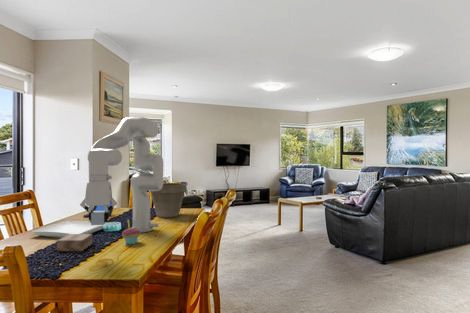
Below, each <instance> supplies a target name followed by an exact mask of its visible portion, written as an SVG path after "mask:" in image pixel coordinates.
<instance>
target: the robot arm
mask: <svg viewBox="0 0 470 313" xmlns="http://www.w3.org/2000/svg"><path fill="white" fill-rule="evenodd" d="M159 130H160V129H159V126H158V124H157V123H156V122H155V121H153V120H152V119H149V118H146V117H142V116H141V117H140V116H139V117H136V116H134V117H125V118H123V119H121V121H120V123H118V126H117V127H116V128H115V129H114V131H113V132H112V133H110V134H108V135H106V136H104V137H102V138H100V139H98V140H97V141H96V142H95V143H94V144H93V145H92V146H91V148H90V149H89V151H88V153H87V161H88V181H87V182H86V187H85V194H84V196H85V197H84V199H83V200H82V201H81V202H80V204H79V205H80V206H81V207H82V208H83V209H84V210H85V212H87V214H89V218H88V220H89V222H91V213H92V212H93V208H94V206H104V209H105V213H104V222H106V223H108V222H107V221H108V220H110V217H109V211H110V210H111V209H112V208H113V207H114V208H115V206H117V204H118V203H117V201H116V200H115V199H114V198H113V191H112V184H111V181H110V180H112V177H113V176H112V175H109V167H113V166H115V167H116V166H119V164H120V163H121V162H122V159H123V155H122V153H121V151H120V150H118V149H120V148H124V147H125V146H128V145H129V143H130V141H132V143H133V166H134V169H135V170H137V171H141V172H143V173H135V174H133V175H132V176H131V178H130V186H131V193H132V227H130V228H137V229H138V230H140V233H149V232H152V231H153V230H154V228H158V227H159V223H157V222H152V220H151V196H150V195H149V193H148V192H150V191H159V190H161V189H162V187H163V183H164V159H163V156H162V155H161V154H158V153H151V145H150V142H149V140H148V138H149V139H150V138H151V139H153V138H156V137H157V136H158V134H159ZM144 172H146V173H144ZM148 172H152V173H148ZM110 203H112V205H111V206H110V207H109V206H108V205H109V204H110ZM80 206H79V207H80ZM114 208H113V209H114Z"/></svg>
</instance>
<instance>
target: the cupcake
mask: <svg viewBox="0 0 470 313" xmlns="http://www.w3.org/2000/svg"><path fill="white" fill-rule="evenodd" d="M127 226H128V228H125V229H124V230H123V231H122V232H121V236H122V238H124V241H125V244H127V245H134V244H137V242H138V238H139V237H140V236H141V233H140V230H138V229H137V228H131V227H130V226H131V224H130V219H127Z"/></svg>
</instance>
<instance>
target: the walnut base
mask: <svg viewBox="0 0 470 313" xmlns="http://www.w3.org/2000/svg"><path fill="white" fill-rule="evenodd" d="M91 244H92V245H93V233H90V234H68V235H66V236H64V237H62V238H59V239H57V240H56V252H83V251H84V249H85V250H86V249H88V248H89V247H90V246H92V245H91ZM88 246H89V247H88Z"/></svg>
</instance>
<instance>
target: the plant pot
mask: <svg viewBox="0 0 470 313" xmlns="http://www.w3.org/2000/svg"><path fill="white" fill-rule="evenodd" d="M186 191H187V183H181V182H163V187H162V189H161V190H159V191H149V192H150V195H151V198H152V203H153V205H154V211H155V214H156V216H157V217H158V218H166V219H167V218H175V217H179V216H180V211H181V209H182V208H181V207H182V204H183V202H184V201H183V200H184V197H185V193H186Z"/></svg>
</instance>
